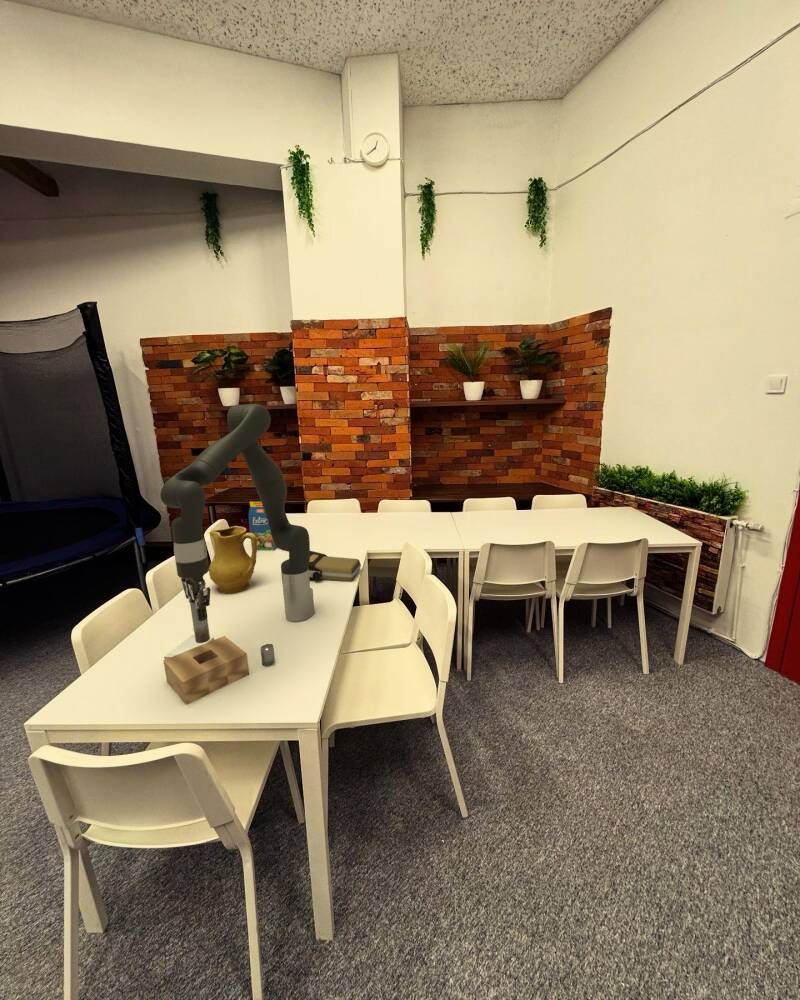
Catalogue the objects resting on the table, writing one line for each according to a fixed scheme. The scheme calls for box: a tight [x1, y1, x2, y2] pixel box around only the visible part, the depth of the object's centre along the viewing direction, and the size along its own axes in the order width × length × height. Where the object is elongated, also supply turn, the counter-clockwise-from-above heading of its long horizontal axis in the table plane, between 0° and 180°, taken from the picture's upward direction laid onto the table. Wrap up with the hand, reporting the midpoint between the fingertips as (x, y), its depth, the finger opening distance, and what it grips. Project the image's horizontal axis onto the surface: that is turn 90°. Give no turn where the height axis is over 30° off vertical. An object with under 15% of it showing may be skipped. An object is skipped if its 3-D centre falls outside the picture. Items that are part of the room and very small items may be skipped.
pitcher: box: [208, 525, 258, 595], centre depth 178 cm, size 17×19×25 cm
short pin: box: [260, 643, 276, 667], centre depth 127 cm, size 4×4×5 cm
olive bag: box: [308, 550, 362, 583], centre depth 191 cm, size 19×11×30 cm
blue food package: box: [248, 501, 278, 551], centre depth 226 cm, size 6×12×25 cm, turn 82°
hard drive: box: [163, 634, 215, 660], centre depth 136 cm, size 2×8×12 cm
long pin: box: [189, 600, 211, 643], centre depth 118 cm, size 4×4×11 cm
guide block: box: [162, 635, 250, 705], centre depth 121 cm, size 17×14×6 cm
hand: (199, 617), depth 118 cm, fingers closed on long pin, 3 cm apart
